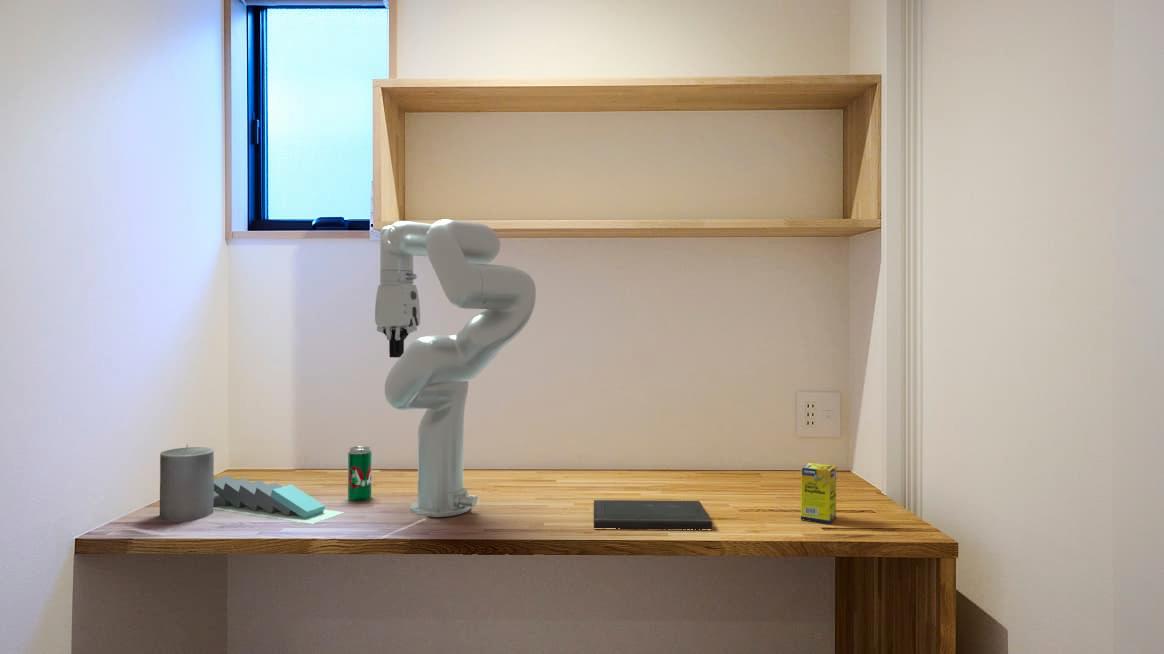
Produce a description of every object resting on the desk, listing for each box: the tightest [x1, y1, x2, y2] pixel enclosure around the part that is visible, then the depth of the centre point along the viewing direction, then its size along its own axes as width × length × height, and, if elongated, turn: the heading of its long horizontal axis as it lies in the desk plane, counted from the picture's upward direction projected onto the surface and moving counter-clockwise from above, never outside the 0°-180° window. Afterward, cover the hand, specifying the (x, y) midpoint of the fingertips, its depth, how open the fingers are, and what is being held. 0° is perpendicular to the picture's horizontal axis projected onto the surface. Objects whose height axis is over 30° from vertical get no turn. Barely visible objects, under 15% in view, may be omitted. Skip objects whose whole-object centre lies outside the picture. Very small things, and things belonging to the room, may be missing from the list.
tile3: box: [239, 480, 279, 514], centre depth 147 cm, size 2×5×10 cm
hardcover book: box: [593, 499, 713, 531], centre depth 143 cm, size 16×23×2 cm
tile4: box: [223, 478, 263, 511], centre depth 149 cm, size 2×5×10 cm
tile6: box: [213, 492, 233, 507], centre depth 152 cm, size 2×5×10 cm
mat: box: [213, 505, 346, 525], centre depth 145 cm, size 28×9×1 cm, turn 67°
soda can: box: [347, 445, 373, 502], centre depth 156 cm, size 5×5×12 cm
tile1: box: [270, 484, 326, 519], centre depth 143 cm, size 2×5×10 cm
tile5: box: [214, 475, 247, 508], centre depth 150 cm, size 2×5×10 cm
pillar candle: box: [159, 444, 215, 522], centre depth 142 cm, size 10×10×15 cm
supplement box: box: [800, 462, 837, 525], centre depth 143 cm, size 6×6×11 cm
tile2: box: [255, 482, 297, 516], centre depth 145 cm, size 2×5×10 cm
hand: (396, 357), depth 163 cm, fingers closed
